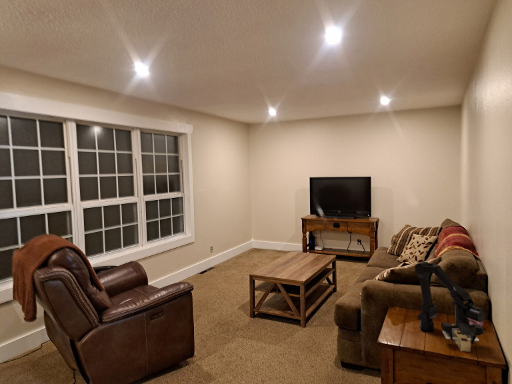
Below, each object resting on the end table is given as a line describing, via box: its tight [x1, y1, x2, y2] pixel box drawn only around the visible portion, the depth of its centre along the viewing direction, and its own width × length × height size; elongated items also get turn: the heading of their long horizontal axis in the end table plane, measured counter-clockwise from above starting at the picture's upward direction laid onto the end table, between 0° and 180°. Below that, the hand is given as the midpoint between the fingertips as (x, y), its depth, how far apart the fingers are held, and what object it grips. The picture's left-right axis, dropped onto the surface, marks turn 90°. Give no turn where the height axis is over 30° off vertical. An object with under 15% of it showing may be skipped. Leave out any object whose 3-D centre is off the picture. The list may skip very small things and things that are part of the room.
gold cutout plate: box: [453, 330, 472, 353], centre depth 183 cm, size 12×4×5 cm, turn 165°
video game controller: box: [468, 318, 484, 327], centre depth 202 cm, size 10×5×7 cm, turn 17°
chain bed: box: [441, 323, 480, 342], centre depth 192 cm, size 16×9×6 cm, turn 75°
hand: (462, 343), depth 183 cm, fingers open, 9 cm apart
